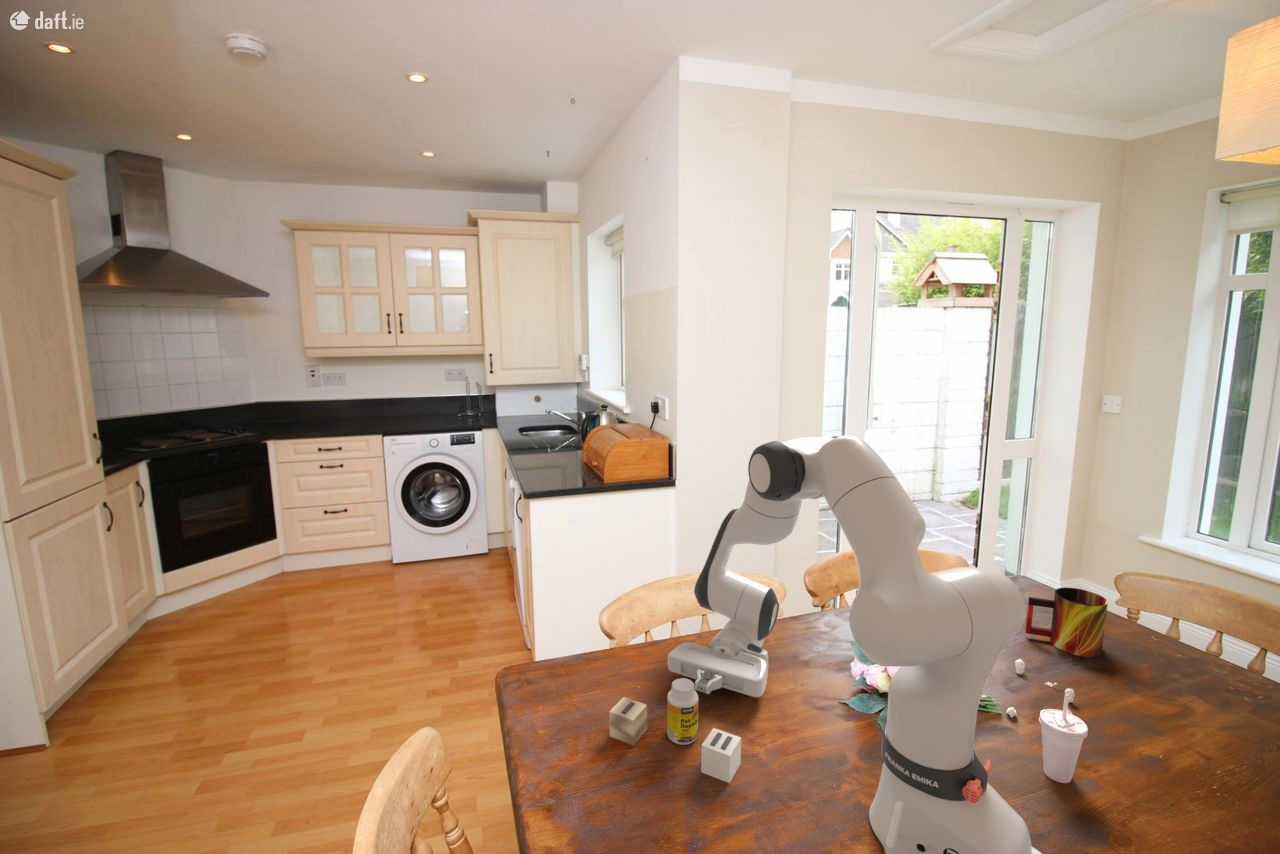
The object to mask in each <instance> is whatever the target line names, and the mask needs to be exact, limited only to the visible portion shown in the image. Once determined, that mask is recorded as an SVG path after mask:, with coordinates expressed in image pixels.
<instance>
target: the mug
mask: <svg viewBox="0 0 1280 854" xmlns="http://www.w3.org/2000/svg"><path fill="white" fill-rule="evenodd" d="M1108 603H1109V601H1108V600H1107V599H1106V598H1105V597H1103V596H1102V595H1100V594H1098V593H1095V592H1092V591H1089V590H1086V589H1082V588H1075V587H1058V588H1056V589H1055V591H1054V596H1053V599H1045V598H1039V597H1031V596H1029V597H1028V601H1027V612H1026V613H1027V614H1026V616H1025V628H1024V633H1025V634H1027V635H1033V636H1041V637H1047V638H1049V642H1050V643H1051V645H1052V646H1054V647H1055V648H1057V649H1059V650H1060V651H1063V652H1066V653H1068V654H1071V655H1075V656H1077V657H1085V658H1090V657H1091V658H1092V657H1093V658H1094V657H1099V656H1101V655H1102V653H1103V646H1104V639H1105V638H1104V637H1105V629H1106V621H1107V620H1106V619H1107V612H1108V605H1109V604H1108ZM1034 606H1035V607H1040V608H1041V607H1042V608H1048V609H1052V616H1051V627H1050V628H1045V627H1044V628H1043V627H1038V626H1037V627H1036V626H1032V624H1033V615H1034Z"/></svg>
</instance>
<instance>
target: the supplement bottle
mask: <svg viewBox="0 0 1280 854" xmlns="http://www.w3.org/2000/svg"><path fill="white" fill-rule="evenodd" d="M666 697H667V699H666V700H667V702H666V703H667V711H666V714H667V716H666V717H667V718H666V719H667V721H666V722H667V723H666V724H667V725H666V728H667V729H666V730H667V731H666V733H667V737H668V739H669V740H670V741H672V742H673V743H675V744H677V745H681V746H686V745H690V744H692V743H693V742H695V741H696V740H697V738H698V736H699V735H698V734H699V695H698V693H697V690H695V682H693V681H692V680H691V679H688V678H684V677H682V678H681V677H680V678H676V679H674V680H673V681H672V682H671V689H670V690H669V691H668V693H667V696H666Z"/></svg>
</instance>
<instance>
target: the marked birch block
mask: <svg viewBox="0 0 1280 854" xmlns="http://www.w3.org/2000/svg"><path fill="white" fill-rule="evenodd" d="M608 713H609V715H608V717H609V719H608V720H609V737H611V738H612V739H615V740H619V742H620V741H621V742H623V743H626V744H628V745H631V746H633V747H634V745H636V743H637V742H638V741H639V740H640V739H641V737H642V736H643V735H644V734H645V733H646V731H647V730H648V704H646V703H643V702H640V701H638V700H634V699H632V698H628V697H625V696H623V697H622V698H621V699H620V700H619V701H618V702H617V703H616V704H615V705H614V706H613V707H612V708H611V710H609V712H608Z"/></svg>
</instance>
